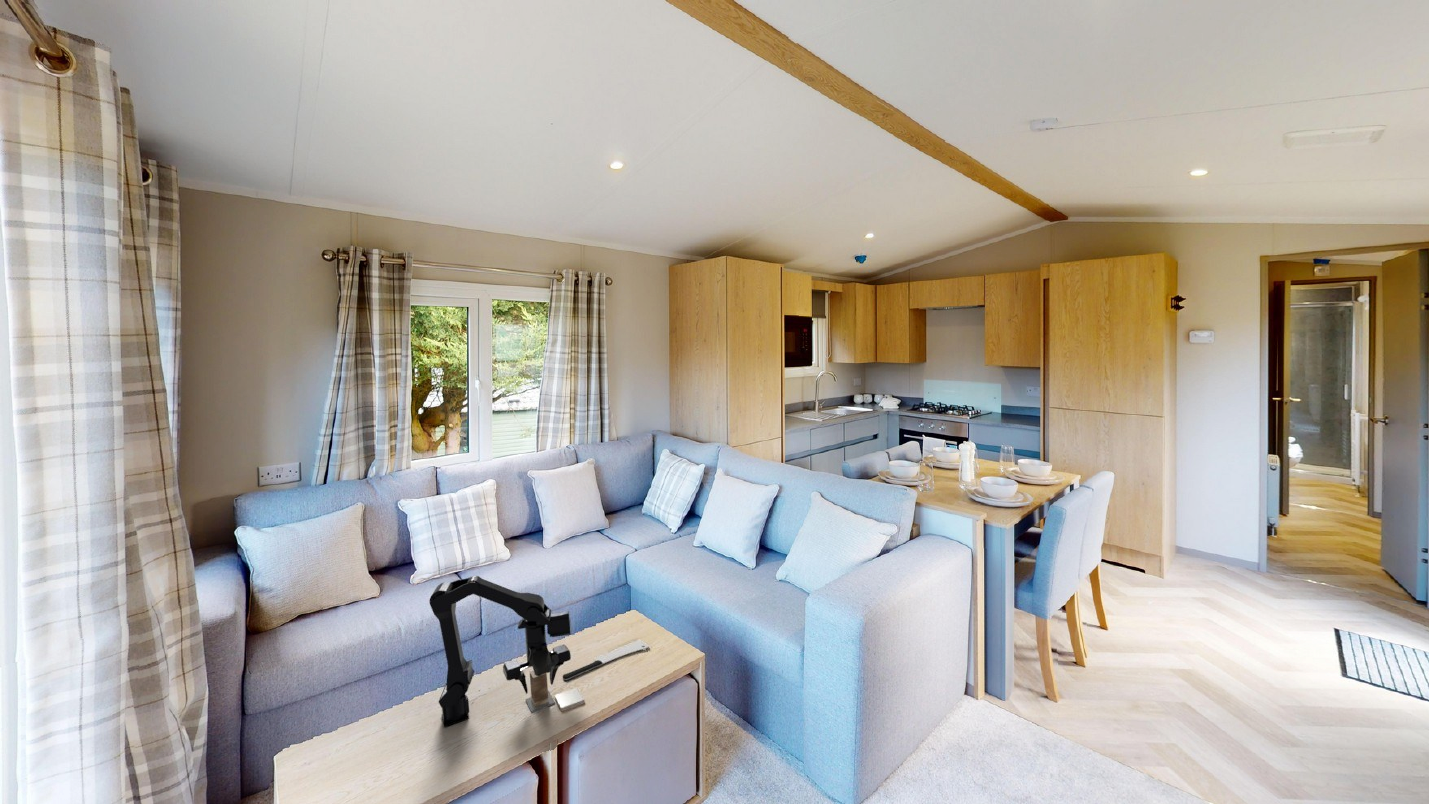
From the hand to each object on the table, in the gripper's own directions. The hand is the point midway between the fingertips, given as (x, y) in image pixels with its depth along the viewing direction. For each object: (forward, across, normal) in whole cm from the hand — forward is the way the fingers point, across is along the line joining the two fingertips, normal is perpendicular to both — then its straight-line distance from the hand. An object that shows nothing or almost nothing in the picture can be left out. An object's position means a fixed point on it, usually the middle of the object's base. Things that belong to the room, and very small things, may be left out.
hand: (539, 688), depth 163 cm
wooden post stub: (+4, 0, 0) cm, 4 cm away
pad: (+4, 0, 0) cm, 4 cm away
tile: (+4, +8, -1) cm, 9 cm away
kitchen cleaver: (+5, +25, +11) cm, 27 cm away
